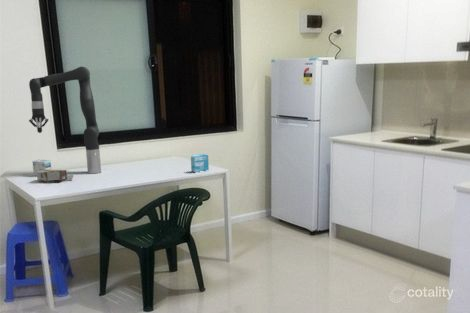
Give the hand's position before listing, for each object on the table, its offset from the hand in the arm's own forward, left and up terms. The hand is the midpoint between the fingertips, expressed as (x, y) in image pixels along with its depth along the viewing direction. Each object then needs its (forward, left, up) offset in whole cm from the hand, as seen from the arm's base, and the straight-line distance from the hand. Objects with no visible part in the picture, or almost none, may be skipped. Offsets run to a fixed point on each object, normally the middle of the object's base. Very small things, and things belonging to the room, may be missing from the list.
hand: (39, 132), depth 303 cm
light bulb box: (+1, -2, -31) cm, 31 cm away
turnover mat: (-12, +16, -31) cm, 37 cm away
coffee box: (-1, +17, -27) cm, 32 cm away
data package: (-107, +26, -31) cm, 114 cm away
